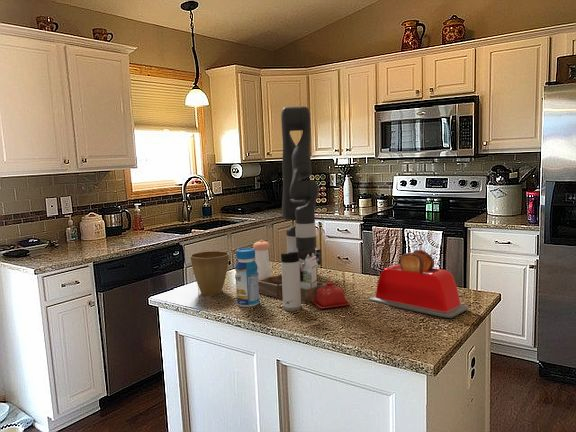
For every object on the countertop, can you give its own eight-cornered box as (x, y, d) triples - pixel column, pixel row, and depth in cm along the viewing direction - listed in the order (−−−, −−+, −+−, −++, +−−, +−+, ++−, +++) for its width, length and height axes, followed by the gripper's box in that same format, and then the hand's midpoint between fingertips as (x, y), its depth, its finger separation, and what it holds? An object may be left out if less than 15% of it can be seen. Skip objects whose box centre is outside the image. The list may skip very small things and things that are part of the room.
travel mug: (288, 312, 163) (286, 254, 161) (280, 307, 169) (277, 251, 166) (305, 309, 166) (302, 251, 163) (295, 304, 171) (293, 249, 169)
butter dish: (310, 302, 174) (309, 279, 173) (340, 299, 177) (339, 276, 176) (320, 311, 163) (319, 287, 162) (352, 307, 166) (351, 283, 165)
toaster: (367, 301, 172) (365, 249, 170) (387, 293, 181) (386, 244, 179) (451, 319, 150) (450, 260, 148) (469, 309, 158) (469, 253, 156)
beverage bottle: (260, 306, 171) (257, 251, 168) (236, 308, 170) (233, 252, 168) (259, 299, 179) (257, 246, 177) (237, 301, 178) (234, 248, 176)
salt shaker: (262, 282, 205) (260, 237, 203) (275, 284, 201) (273, 239, 199) (251, 286, 199) (248, 240, 197) (264, 288, 195) (262, 241, 193)
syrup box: (317, 293, 181) (316, 255, 179) (312, 297, 176) (311, 258, 174) (303, 292, 183) (302, 254, 182) (297, 296, 178) (296, 257, 176)
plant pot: (211, 301, 180) (208, 259, 178) (184, 296, 189) (182, 255, 187) (238, 291, 191) (236, 252, 190) (212, 287, 200) (210, 249, 199)
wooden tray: (283, 284, 199) (282, 273, 199) (331, 295, 181) (331, 282, 181) (255, 292, 189) (255, 280, 188) (304, 304, 171) (303, 291, 170)
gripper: (299, 238, 169) (301, 284, 171) (326, 233, 179) (327, 276, 181) (284, 237, 174) (286, 281, 176) (311, 231, 184) (313, 273, 186)
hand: (307, 279), depth 179 cm, fingers closed on syrup box, 7 cm apart
